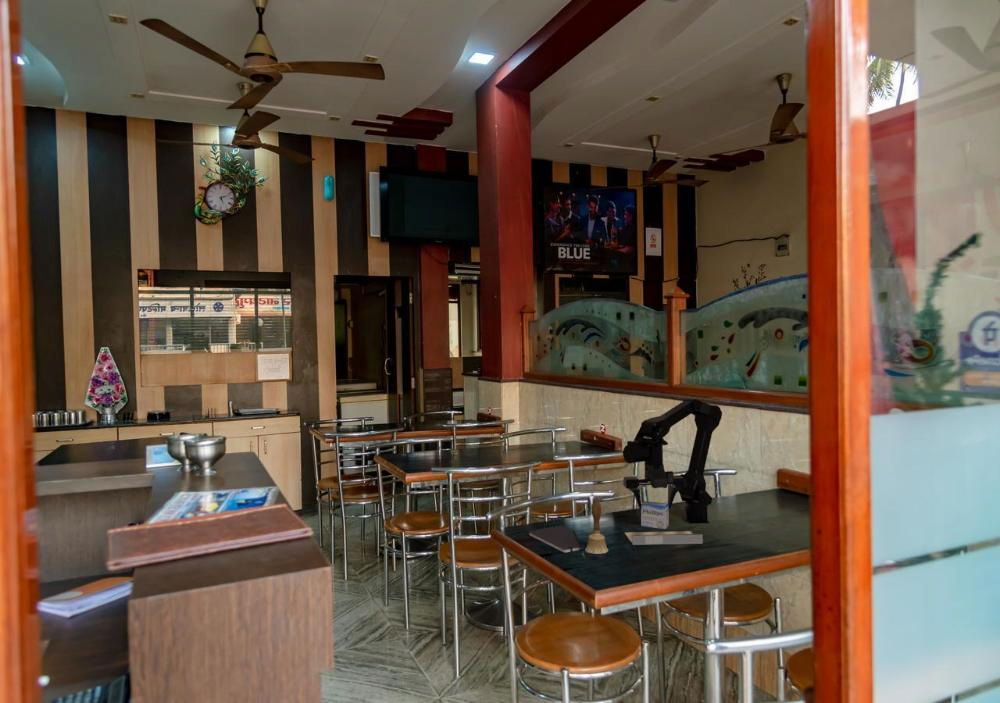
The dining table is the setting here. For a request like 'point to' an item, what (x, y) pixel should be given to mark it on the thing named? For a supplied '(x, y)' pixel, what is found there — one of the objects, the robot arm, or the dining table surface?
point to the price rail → (667, 539)
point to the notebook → (558, 538)
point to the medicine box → (655, 514)
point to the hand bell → (596, 532)
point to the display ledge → (655, 534)
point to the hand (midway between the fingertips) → (654, 509)
